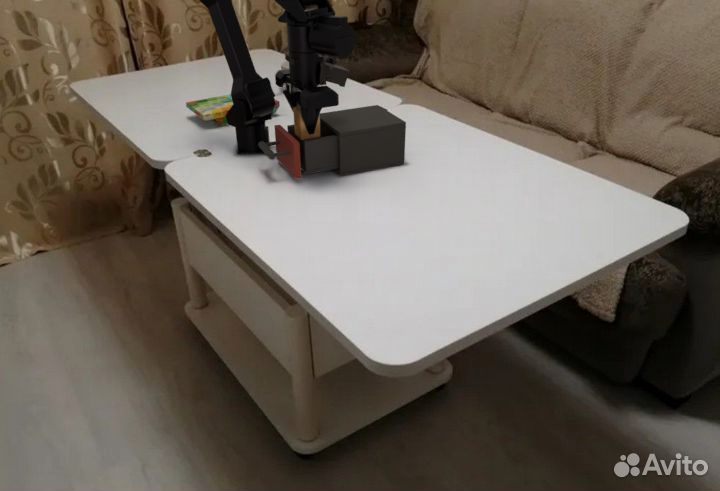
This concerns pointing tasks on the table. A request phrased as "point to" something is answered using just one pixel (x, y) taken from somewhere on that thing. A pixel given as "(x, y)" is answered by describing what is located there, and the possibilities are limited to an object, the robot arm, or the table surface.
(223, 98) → the puzzle game
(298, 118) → the oak block
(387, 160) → the drawer cabinet casing
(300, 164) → the red-fronted drawer
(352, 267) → the table surface
